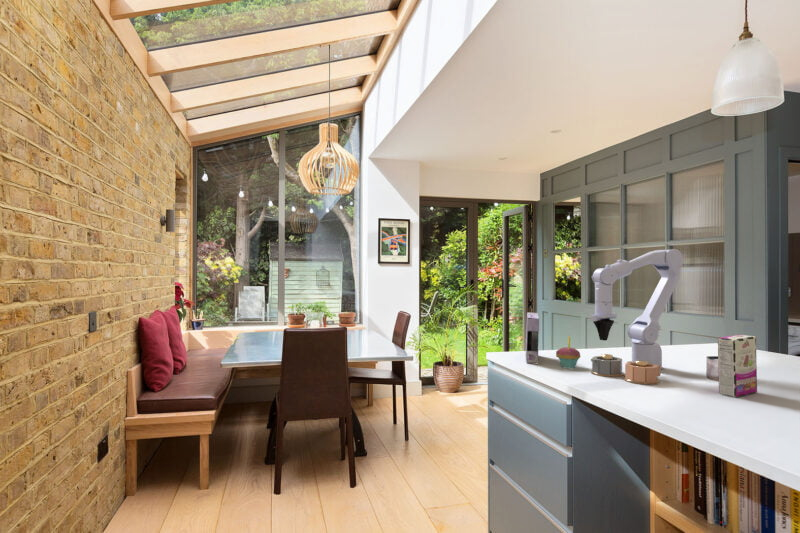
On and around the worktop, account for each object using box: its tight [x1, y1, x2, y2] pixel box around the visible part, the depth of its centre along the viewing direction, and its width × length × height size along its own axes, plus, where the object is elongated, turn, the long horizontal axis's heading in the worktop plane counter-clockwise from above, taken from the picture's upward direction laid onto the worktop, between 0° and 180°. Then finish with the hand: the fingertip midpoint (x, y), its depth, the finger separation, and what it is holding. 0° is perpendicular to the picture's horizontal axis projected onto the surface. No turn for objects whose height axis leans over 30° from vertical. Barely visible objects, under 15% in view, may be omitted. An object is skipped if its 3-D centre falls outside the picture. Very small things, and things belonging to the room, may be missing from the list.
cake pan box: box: [525, 312, 540, 364], centre depth 196 cm, size 19×5×18 cm, turn 166°
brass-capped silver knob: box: [600, 353, 614, 360], centre depth 171 cm, size 5×5×5 cm
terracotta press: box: [623, 360, 661, 386], centre depth 160 cm, size 11×12×5 cm
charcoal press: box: [590, 355, 625, 378], centre depth 171 cm, size 11×12×5 cm
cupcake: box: [555, 334, 581, 369], centre depth 182 cm, size 9×8×12 cm
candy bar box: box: [717, 334, 758, 398], centre depth 144 cm, size 11×5×16 cm, turn 117°
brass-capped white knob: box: [635, 360, 648, 367], centre depth 160 cm, size 5×5×5 cm
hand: (603, 340), depth 177 cm, fingers closed
